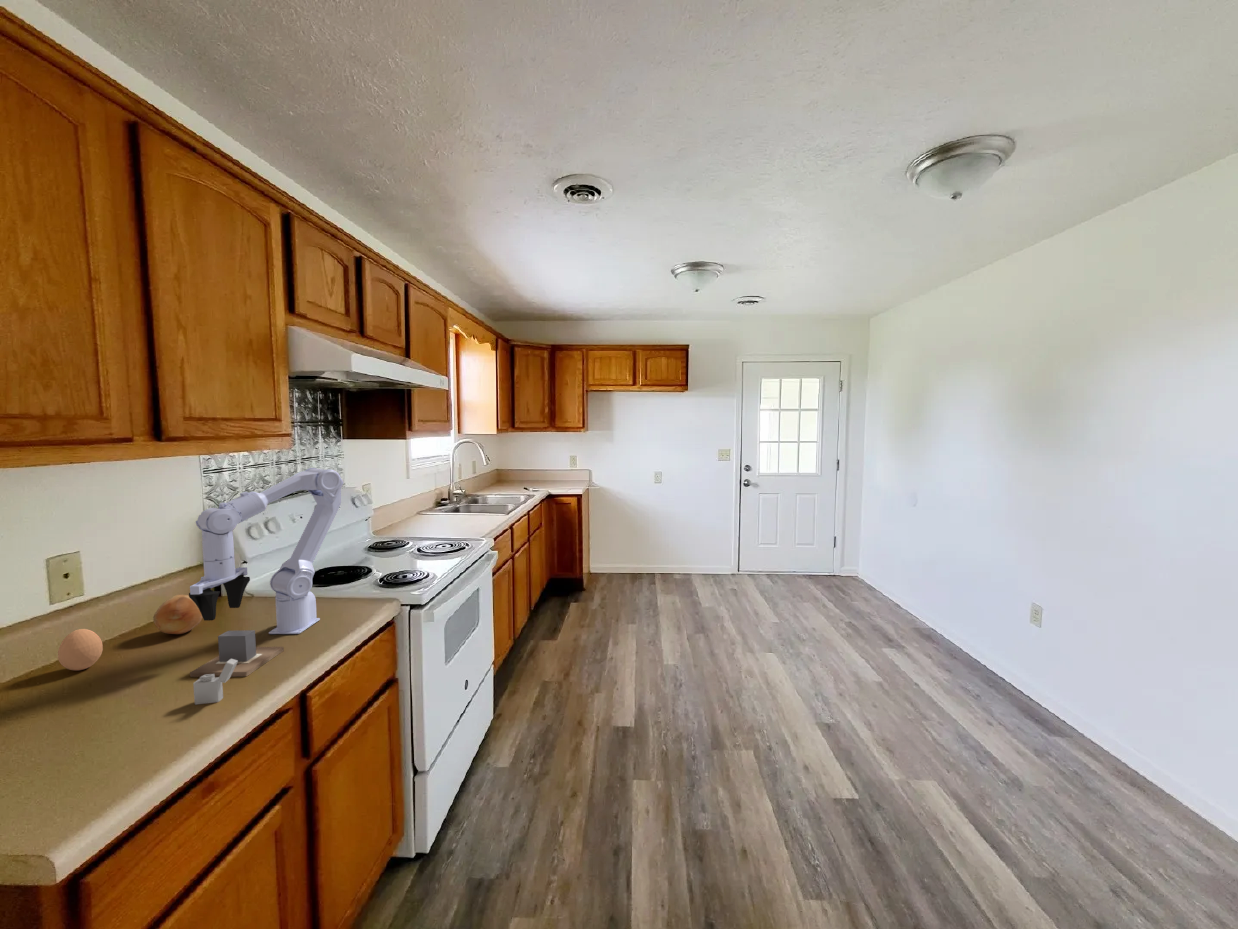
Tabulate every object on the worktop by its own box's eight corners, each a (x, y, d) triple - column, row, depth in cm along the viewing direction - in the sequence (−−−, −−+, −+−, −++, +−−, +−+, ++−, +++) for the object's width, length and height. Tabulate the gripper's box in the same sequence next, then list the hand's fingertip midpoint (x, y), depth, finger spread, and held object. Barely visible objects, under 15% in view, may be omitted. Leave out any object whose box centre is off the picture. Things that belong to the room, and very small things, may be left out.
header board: (233, 651, 115) (232, 637, 115) (283, 650, 116) (283, 636, 115) (190, 677, 103) (189, 661, 103) (246, 676, 104) (245, 661, 103)
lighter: (194, 704, 93) (191, 665, 92) (199, 699, 95) (197, 661, 94) (235, 700, 95) (233, 661, 94) (240, 695, 96) (238, 657, 96)
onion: (147, 636, 123) (144, 598, 123) (195, 622, 132) (193, 587, 131) (164, 644, 119) (161, 605, 118) (212, 629, 128) (210, 593, 127)
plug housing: (229, 655, 111) (228, 630, 110) (256, 655, 111) (254, 630, 110) (219, 661, 108) (217, 636, 107) (246, 661, 108) (245, 636, 108)
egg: (112, 662, 110) (109, 624, 109) (77, 677, 103) (74, 636, 102) (86, 661, 110) (83, 623, 109) (50, 676, 103) (46, 635, 103)
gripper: (226, 550, 121) (229, 602, 122) (174, 567, 106) (178, 626, 107) (254, 550, 121) (257, 602, 122) (206, 567, 106) (210, 625, 107)
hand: (222, 613), depth 114 cm, fingers open, 7 cm apart
